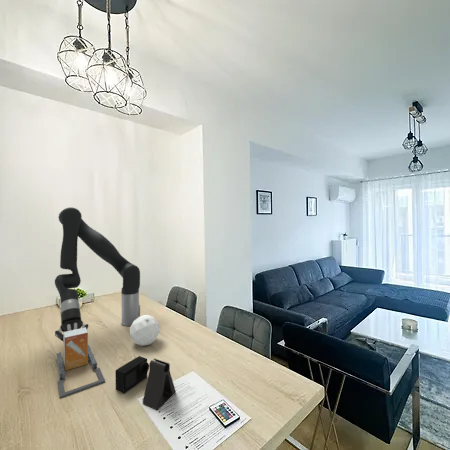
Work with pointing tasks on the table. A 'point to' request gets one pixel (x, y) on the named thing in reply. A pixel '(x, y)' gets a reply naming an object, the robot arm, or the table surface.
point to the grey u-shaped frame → (61, 367)
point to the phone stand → (158, 384)
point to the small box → (75, 348)
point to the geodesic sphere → (144, 330)
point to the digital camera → (131, 374)
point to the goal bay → (63, 393)
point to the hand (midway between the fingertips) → (73, 350)
